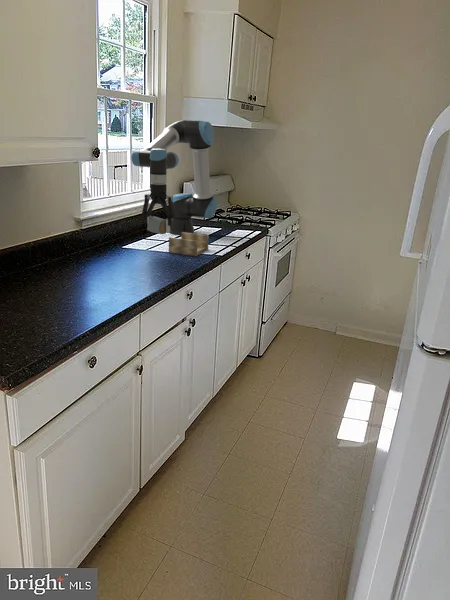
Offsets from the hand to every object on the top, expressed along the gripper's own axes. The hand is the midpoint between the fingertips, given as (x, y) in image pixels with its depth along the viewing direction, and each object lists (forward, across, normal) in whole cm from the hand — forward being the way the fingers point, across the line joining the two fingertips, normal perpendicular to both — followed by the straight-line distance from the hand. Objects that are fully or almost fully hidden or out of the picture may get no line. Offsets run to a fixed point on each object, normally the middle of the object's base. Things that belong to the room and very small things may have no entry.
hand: (158, 231), depth 234 cm
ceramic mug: (+1, 0, +2) cm, 2 cm away
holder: (+13, +9, +16) cm, 22 cm away
